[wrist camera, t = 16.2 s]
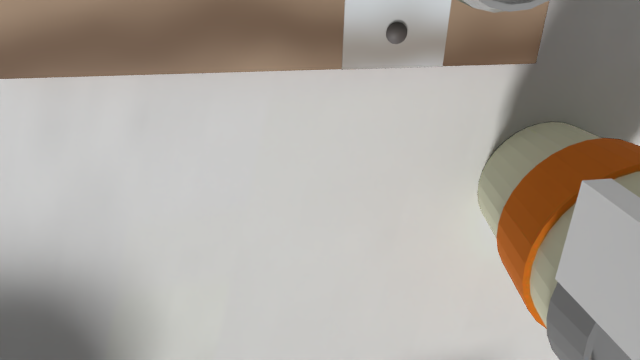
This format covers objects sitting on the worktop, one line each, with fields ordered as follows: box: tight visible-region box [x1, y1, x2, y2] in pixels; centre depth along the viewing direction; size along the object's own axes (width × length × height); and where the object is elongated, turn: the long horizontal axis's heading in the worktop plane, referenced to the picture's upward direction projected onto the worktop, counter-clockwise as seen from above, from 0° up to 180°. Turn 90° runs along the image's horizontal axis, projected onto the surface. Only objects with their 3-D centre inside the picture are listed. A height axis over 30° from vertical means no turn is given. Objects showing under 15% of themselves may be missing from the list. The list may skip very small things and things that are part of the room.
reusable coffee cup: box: [478, 122, 640, 360], centre depth 33 cm, size 12×13×15 cm
